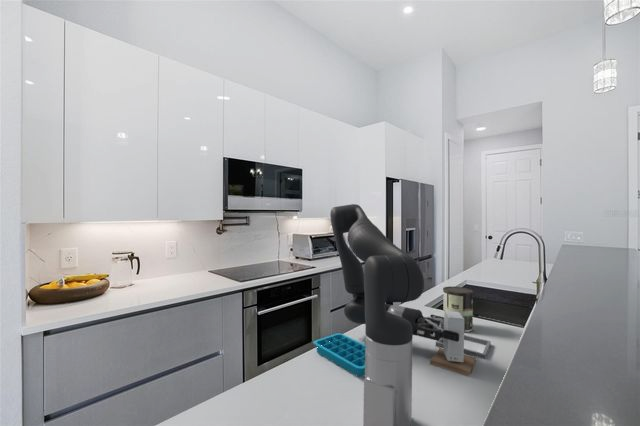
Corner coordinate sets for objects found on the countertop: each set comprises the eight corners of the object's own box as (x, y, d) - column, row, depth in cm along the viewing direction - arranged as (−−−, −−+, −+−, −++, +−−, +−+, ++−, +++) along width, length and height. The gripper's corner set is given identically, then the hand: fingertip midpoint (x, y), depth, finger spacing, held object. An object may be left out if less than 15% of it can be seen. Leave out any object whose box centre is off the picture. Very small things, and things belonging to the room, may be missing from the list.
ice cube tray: (339, 341, 97) (339, 332, 97) (389, 367, 81) (389, 356, 81) (311, 351, 89) (311, 341, 90) (359, 381, 74) (360, 369, 74)
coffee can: (467, 323, 115) (467, 286, 115) (477, 333, 104) (477, 293, 105) (439, 321, 116) (440, 285, 116) (446, 331, 106) (447, 292, 106)
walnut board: (469, 376, 76) (469, 372, 76) (430, 364, 82) (430, 360, 82) (476, 361, 84) (476, 357, 84) (439, 351, 90) (439, 347, 90)
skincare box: (464, 363, 80) (465, 319, 80) (447, 361, 81) (448, 317, 81) (458, 352, 86) (459, 311, 86) (442, 351, 87) (443, 310, 87)
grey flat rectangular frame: (485, 359, 86) (485, 355, 86) (435, 345, 94) (435, 342, 94) (490, 344, 95) (490, 341, 95) (445, 334, 103) (445, 330, 104)
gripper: (395, 313, 86) (456, 327, 76) (412, 302, 98) (467, 313, 88) (395, 339, 86) (456, 356, 76) (412, 324, 98) (466, 338, 88)
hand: (461, 333), depth 82 cm, fingers closed on skincare box, 7 cm apart
